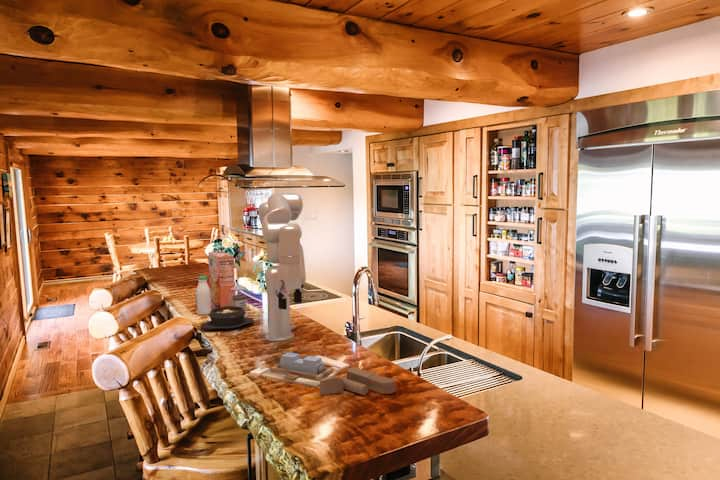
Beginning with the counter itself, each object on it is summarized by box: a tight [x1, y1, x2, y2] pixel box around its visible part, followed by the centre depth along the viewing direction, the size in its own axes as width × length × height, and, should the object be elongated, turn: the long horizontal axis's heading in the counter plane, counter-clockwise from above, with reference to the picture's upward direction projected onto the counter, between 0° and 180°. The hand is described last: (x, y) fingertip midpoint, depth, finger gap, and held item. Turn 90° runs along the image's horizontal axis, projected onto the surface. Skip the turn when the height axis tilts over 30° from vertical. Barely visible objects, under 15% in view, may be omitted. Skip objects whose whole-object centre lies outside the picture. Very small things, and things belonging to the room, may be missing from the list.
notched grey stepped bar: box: [279, 351, 326, 375], centre depth 169 cm, size 16×4×6 cm, turn 63°
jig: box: [261, 362, 342, 388], centre depth 170 cm, size 16×22×2 cm
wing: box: [314, 355, 350, 370], centre depth 181 cm, size 4×16×1 cm, turn 49°
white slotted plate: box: [249, 361, 271, 377], centre depth 172 cm, size 6×4×4 cm, turn 152°
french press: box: [229, 266, 250, 317], centre depth 253 cm, size 10×12×25 cm
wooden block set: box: [319, 367, 396, 396], centre depth 153 cm, size 17×6×18 cm
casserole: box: [200, 306, 255, 331], centre depth 231 cm, size 25×19×8 cm
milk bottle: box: [195, 275, 212, 316], centre depth 256 cm, size 8×8×20 cm
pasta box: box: [208, 251, 236, 309], centre depth 269 cm, size 23×8×30 cm, turn 30°
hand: (290, 305), depth 179 cm, fingers open, 9 cm apart
